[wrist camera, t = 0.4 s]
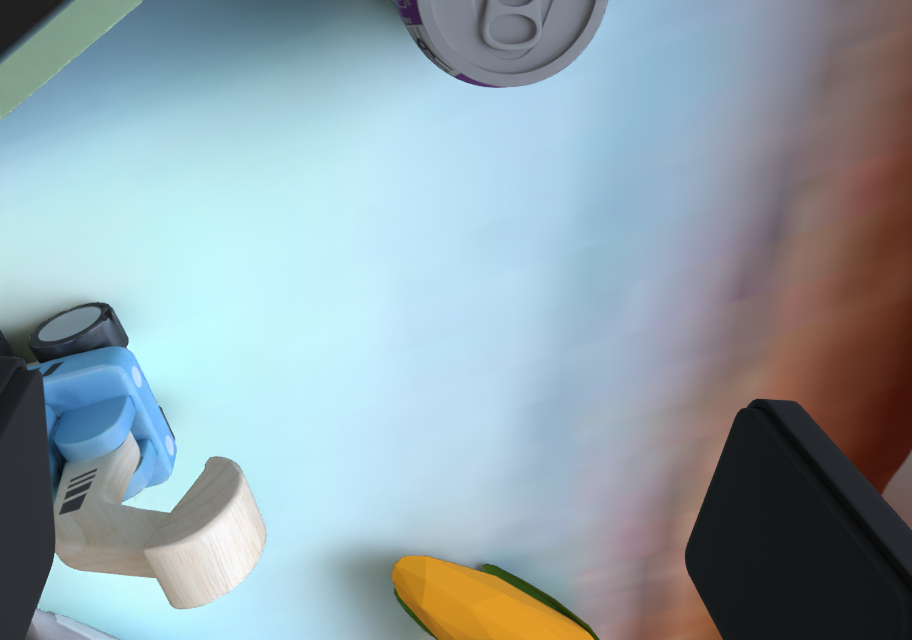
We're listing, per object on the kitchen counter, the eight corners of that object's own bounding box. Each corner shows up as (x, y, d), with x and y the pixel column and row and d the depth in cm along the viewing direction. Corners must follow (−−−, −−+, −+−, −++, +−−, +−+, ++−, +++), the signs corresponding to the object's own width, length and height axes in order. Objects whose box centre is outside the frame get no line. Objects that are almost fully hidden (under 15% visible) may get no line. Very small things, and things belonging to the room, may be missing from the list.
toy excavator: (298, 395, 46) (291, 653, 31) (-1, 470, 45) (-154, 768, 31) (249, 258, 42) (213, 481, 27) (-83, 338, 41) (-306, 611, 26)
